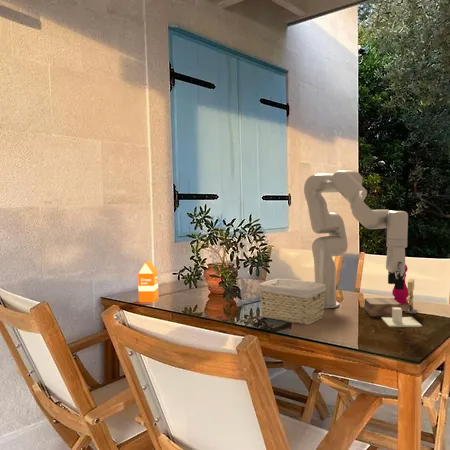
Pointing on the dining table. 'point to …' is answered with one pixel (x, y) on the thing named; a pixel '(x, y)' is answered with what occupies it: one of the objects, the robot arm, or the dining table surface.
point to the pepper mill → (401, 292)
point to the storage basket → (292, 300)
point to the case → (380, 306)
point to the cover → (400, 319)
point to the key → (410, 293)
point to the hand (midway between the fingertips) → (395, 286)
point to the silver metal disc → (411, 311)
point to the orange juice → (148, 283)
